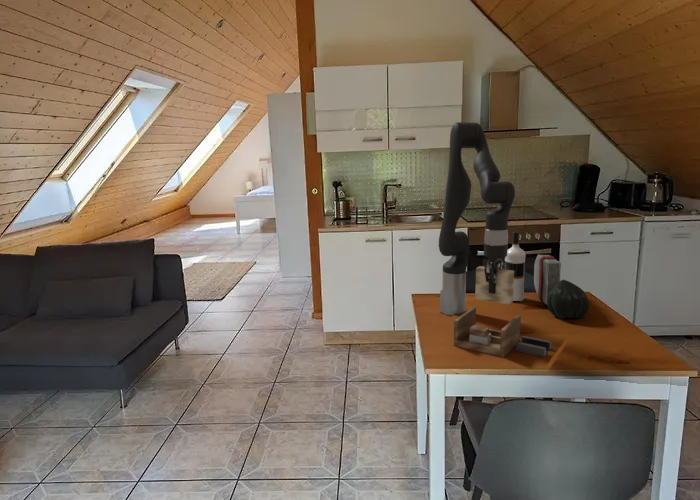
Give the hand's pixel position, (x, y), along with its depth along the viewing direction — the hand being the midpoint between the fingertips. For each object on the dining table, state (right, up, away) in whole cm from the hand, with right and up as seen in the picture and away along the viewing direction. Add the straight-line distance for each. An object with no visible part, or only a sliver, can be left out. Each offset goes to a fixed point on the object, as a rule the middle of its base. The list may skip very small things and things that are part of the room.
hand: (493, 291), depth 164 cm
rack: (-2, -18, 0) cm, 19 cm away
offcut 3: (-6, -18, -3) cm, 19 cm away
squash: (+36, -12, +26) cm, 46 cm away
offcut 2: (-6, -16, -3) cm, 17 cm away
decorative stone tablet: (+37, -7, +48) cm, 61 cm away
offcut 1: (-6, -14, -4) cm, 16 cm away
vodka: (+23, -8, +48) cm, 53 cm away
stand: (+11, -19, -6) cm, 23 cm away
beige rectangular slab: (0, -3, +1) cm, 3 cm away
